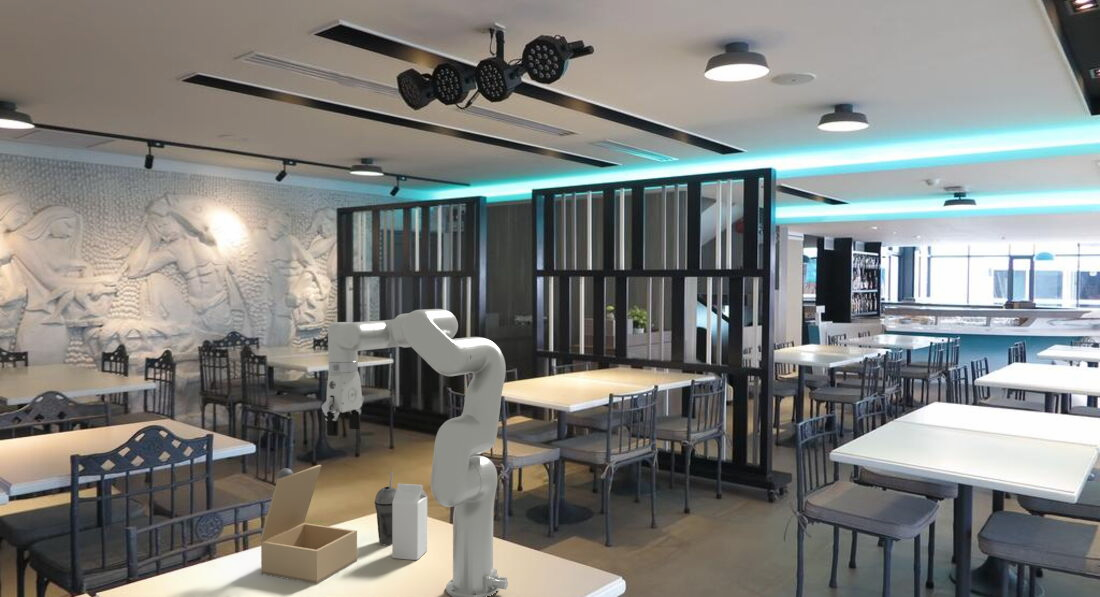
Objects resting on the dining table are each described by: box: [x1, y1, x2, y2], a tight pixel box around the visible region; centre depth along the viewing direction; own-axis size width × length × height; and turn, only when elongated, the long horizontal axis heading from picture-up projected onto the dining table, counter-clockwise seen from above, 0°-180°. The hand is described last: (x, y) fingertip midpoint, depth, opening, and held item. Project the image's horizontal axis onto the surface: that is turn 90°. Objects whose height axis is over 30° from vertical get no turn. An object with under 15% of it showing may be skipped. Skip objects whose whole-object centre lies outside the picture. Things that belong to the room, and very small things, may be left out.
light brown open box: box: [260, 522, 358, 585], centre depth 188 cm, size 17×16×8 cm
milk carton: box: [391, 483, 428, 561], centre depth 197 cm, size 7×7×19 cm
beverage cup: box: [374, 471, 397, 546], centre depth 206 cm, size 7×7×20 cm
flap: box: [259, 464, 322, 542], centre depth 190 cm, size 17×16×6 cm
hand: (344, 432), depth 196 cm, fingers open, 9 cm apart
